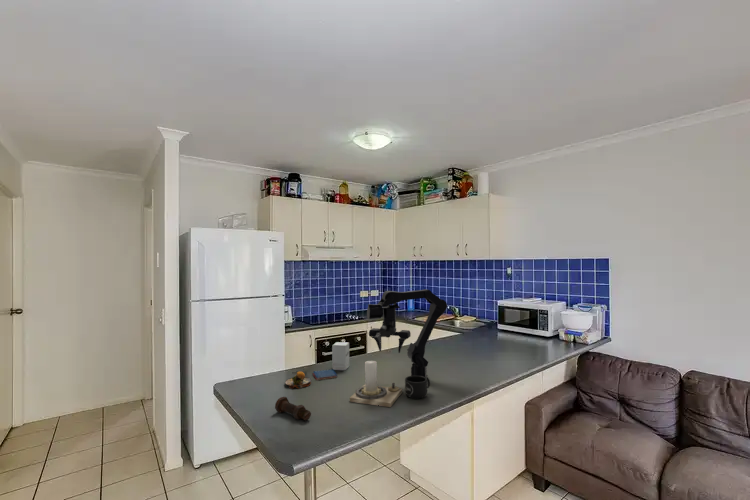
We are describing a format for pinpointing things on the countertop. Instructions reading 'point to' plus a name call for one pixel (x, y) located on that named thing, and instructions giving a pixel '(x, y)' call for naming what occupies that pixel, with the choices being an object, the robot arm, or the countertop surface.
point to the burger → (298, 381)
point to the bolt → (292, 409)
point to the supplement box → (340, 356)
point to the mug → (416, 386)
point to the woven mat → (324, 374)
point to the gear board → (378, 396)
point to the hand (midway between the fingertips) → (389, 351)
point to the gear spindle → (371, 379)
